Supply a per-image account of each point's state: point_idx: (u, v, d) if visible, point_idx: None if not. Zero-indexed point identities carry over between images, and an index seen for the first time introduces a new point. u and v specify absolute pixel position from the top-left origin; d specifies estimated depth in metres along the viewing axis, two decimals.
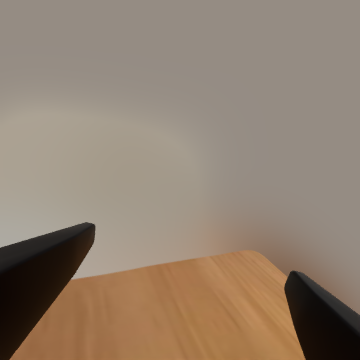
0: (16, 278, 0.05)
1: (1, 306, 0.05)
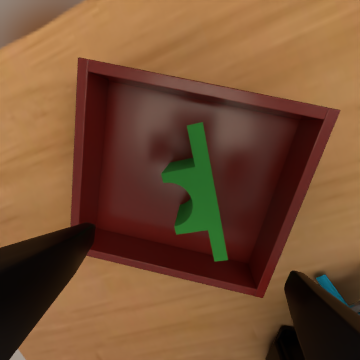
0: (16, 278, 0.05)
1: (1, 306, 0.05)
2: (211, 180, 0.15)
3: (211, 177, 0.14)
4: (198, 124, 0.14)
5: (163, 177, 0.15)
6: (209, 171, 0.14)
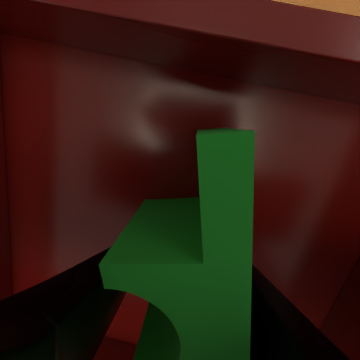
0: (97, 298, 0.05)
1: (85, 327, 0.05)
2: (245, 306, 0.05)
3: (246, 298, 0.05)
4: (238, 137, 0.04)
5: (105, 275, 0.05)
6: (244, 283, 0.05)
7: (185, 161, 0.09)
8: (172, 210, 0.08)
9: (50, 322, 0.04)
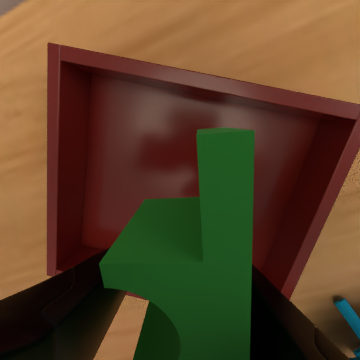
0: (97, 298, 0.05)
1: (85, 327, 0.05)
2: (245, 305, 0.05)
3: (246, 297, 0.05)
4: (238, 136, 0.04)
5: (105, 274, 0.05)
6: (243, 282, 0.05)
7: (191, 144, 0.15)
8: (172, 210, 0.08)
9: (50, 322, 0.04)
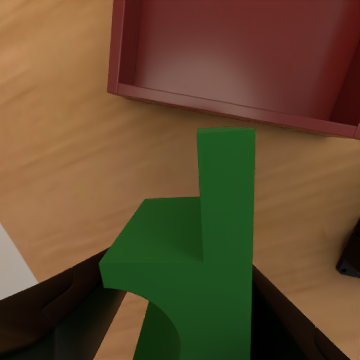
0: (97, 298, 0.05)
1: (85, 327, 0.05)
2: (245, 305, 0.05)
3: (247, 296, 0.05)
4: (238, 135, 0.04)
5: (105, 274, 0.05)
6: (244, 282, 0.05)
7: None
8: (172, 209, 0.08)
9: (50, 322, 0.04)
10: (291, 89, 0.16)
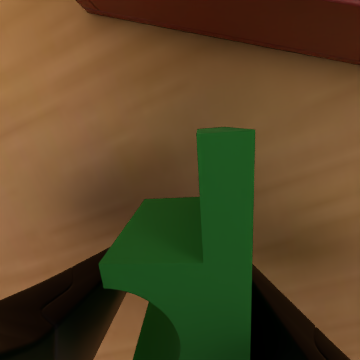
0: (97, 298, 0.05)
1: (85, 327, 0.05)
2: (245, 305, 0.05)
3: (247, 297, 0.05)
4: (238, 135, 0.04)
5: (105, 274, 0.05)
6: (244, 282, 0.05)
7: None
8: (172, 210, 0.08)
9: (50, 322, 0.04)
10: None
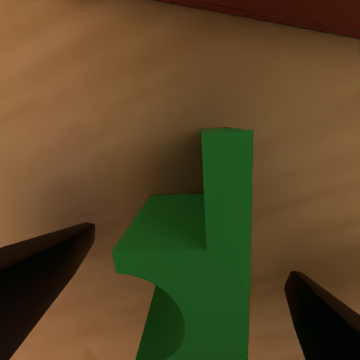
0: (16, 278, 0.05)
1: (1, 306, 0.05)
2: (244, 289, 0.05)
3: (245, 282, 0.05)
4: (238, 136, 0.04)
5: (117, 261, 0.06)
6: (243, 268, 0.05)
7: None
8: (177, 205, 0.08)
9: None
10: None
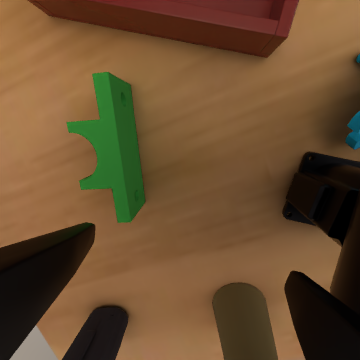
0: (16, 278, 0.05)
1: (1, 306, 0.05)
2: (115, 135, 0.14)
3: (115, 132, 0.14)
4: (103, 74, 0.13)
5: (68, 126, 0.15)
6: (113, 126, 0.14)
7: None
8: None
9: None
10: None
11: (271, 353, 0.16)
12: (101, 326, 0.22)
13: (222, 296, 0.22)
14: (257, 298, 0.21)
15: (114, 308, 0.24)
